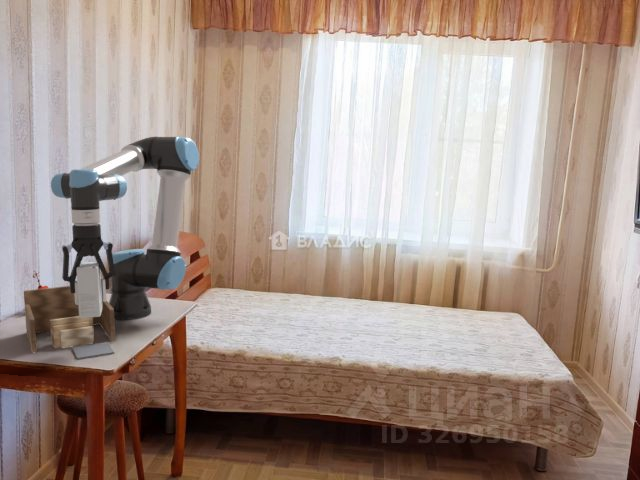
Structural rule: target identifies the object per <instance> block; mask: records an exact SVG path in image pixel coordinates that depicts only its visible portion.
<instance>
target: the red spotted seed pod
mask: <svg viewBox="0 0 640 480" xmlns="http://www.w3.org/2000/svg"><path fill="white" fill-rule="evenodd" d="M33 272H34V273H32V278H33V279H35V278H36V279H37V283H38V286H37V289H45V288H49V286H48V285H42V284H41V282H40V281H41V280H40V278H39V277H38V274H39V273H40V272H38V273H37V272H36V271H35V270H33Z"/></svg>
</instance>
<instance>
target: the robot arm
mask: <svg viewBox="0 0 640 480" xmlns="http://www.w3.org/2000/svg"><path fill="white" fill-rule="evenodd" d="M199 164H200V154H199V150H198V147H197V145H196V143H195V141H194V140H193V139H191V138H190V137H187V136H186V137H185V136H184V137H183V136H150V137H145V138H142V139H139V140H136V141H134V142H131V143H130V144H126V145H125V146H123V147H122V148H121V149H120V151H118V152H116V153H114V154H112V155H109V156H107V157H105V158H103V159H100V160H98V161H95V162H93V163H91V164H88V165H86V166H84V167H82V168H79V169H78V168H77V169H76V168H75V169H71V171H69V172H68V173H67V172H62V173H56V174H55V175H53V177H52V178H51V181H50V188H51V192H52V193H53V195H54V196H55V197H57V198H64V199H70V205H71V206H70V209H71V223H72V224H73V225H72V226H71V227H72V228H71V230H72V240H71V241H72V242H71V244H67V245H65V244H64V245H61V250H62V252H63V258H62V259H63V260H62V273H61V274H62V276H61V279H62V280H63V281H64V282H69V286H70V291H71V293H74V296H75V304H76V305H78V288H77V270H76V269H77V267H80V264H81V262H83V261H82V260H83V259H84V257H85V258H86V257H89V256H90V257H93V258H95V262H97V263H98V264H99V268H100V271H101V275H102V276H103V277H101V292H102V300H103V302H106V300H107V292H106V291H107V290H109V289H110V292H111V294H110V298H109V301H108V303H109V304H110V305H111V306H112V308H113V309H114V320H122V321H123V320H124V321H125V320H133V319H134V320H137V319H140V318H144V317H147V316H150V315H151V314H152V306H151V303H150V300H149V298H148V295H147V292H146V288H147V289H157V290H163V291H165V290H174V289H177V288H178V287H179V286H180V284H182V282H183V280H184V278H185V275H186V271H187V270H186V269H187V265H186V260H185V259H184V257H183V256H181V255H182V252H181V250H180V249H179V248H178V244H179V235H180V228H181V227H180V226H181V218H182V211H183V202H184V194H185V186H186V181H187V180H188V179H190V178H191V175H192V174H191V173H192V172H193V171H195V170H197V169H198V166H199ZM141 170H156V173H157V174H158V177H160V181H159V188H158V194H157V195H158V196H157V203H156V211H155V218H154V219H155V220H154V228H153V235H152V240H151V241H152V242H151V245H150V246H148V247H147V248H146V253H145V250H144V249H143V248H133V249H126V250H120V251H115V252H113V247H114V245H113V243H112V242H110V241H108V242H106V241H103V239H102V230H101V229H102V228H101V224H100V222H101V214H100V213H101V212H100V207H101V206H100V202H101V201H102V202H103V201H109V200H111V201H112V200H113V201H115V200H117V199H121V198H123V197H124V196H125V195H126V194H127V190H128V183H127V181H126V179H125V178H124V177H123V176H125V175H127V174H128V173H130V172H134V173H135V172H139V171H141ZM102 247H103V248H104V250H105V253H106V260H107V267H108V271H107V268H106V266H105V265H104V262H103V260H102V259H101V258H102V257H101V256H100V253H99V251H100V250H101V248H102ZM72 249H73V250H74V251H75V252H76V256H75V260H74V263H73V267H72V268H71V269H72V270H71V272H70V275H69V268H70V267H69V266H70V253H71V252H72Z"/></svg>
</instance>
